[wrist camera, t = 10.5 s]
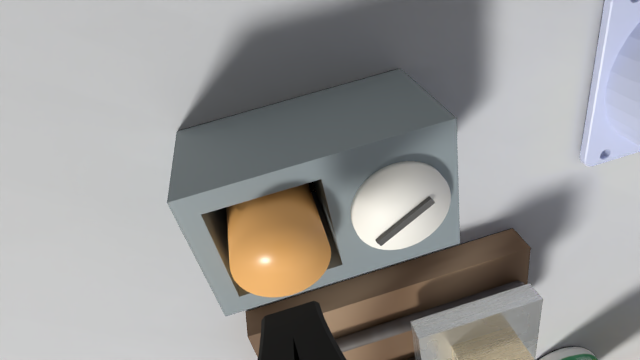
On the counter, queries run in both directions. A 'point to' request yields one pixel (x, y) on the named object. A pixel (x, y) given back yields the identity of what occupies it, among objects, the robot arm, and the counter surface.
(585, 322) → the counter surface
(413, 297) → the rail track
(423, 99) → the gauge box
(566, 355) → the supplement bottle
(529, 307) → the carriage
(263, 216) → the button
